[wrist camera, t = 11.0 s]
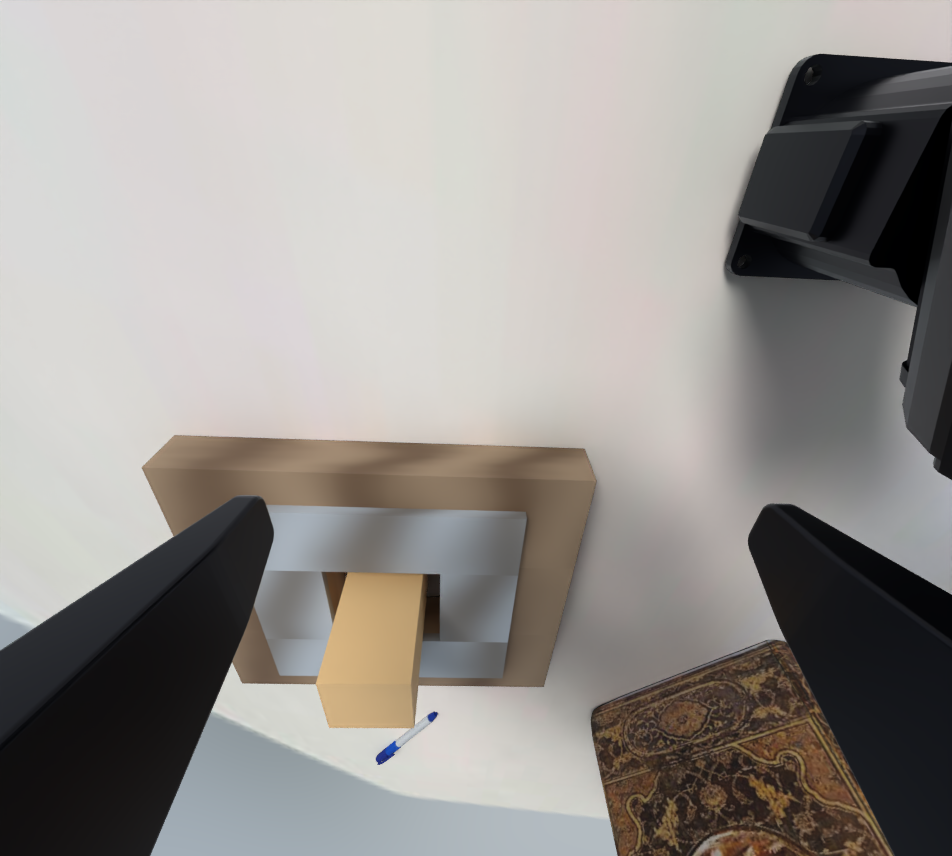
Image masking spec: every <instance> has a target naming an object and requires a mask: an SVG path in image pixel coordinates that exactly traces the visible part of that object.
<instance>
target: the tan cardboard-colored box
mask: <svg viewBox="0 0 952 856" xmlns="http://www.w3.org/2000/svg"><path fill="white" fill-rule="evenodd" d="M427 588H428V577H427V574H410V573H363V572H348V573H347V577H346V580H345V584H344V587H343V591H342V594H341V598H340V601H339V605H338V608H337V612H336V615H335V619H334V622H333V626H332V629H331V633H330V636H329V640H328V643H327V647H326V650H325V654H324V657H323V661H322V664H321V668H320V671H319V674H318V678H317V681H316V686H317V689H318V692H319V696H320V699H321V702H322V706H323V709H324V712H325V715H326V719H327V722H328V725H329V728H414V724H415V714H416V703H417V693H418V682H419V672H420V662H421V651H422V641H423V630H424V620H425V609H426V599H427Z"/></svg>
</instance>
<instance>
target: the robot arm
mask: <svg viewBox="0 0 952 856" xmlns="http://www.w3.org/2000/svg"><path fill="white" fill-rule="evenodd" d="M810 67H811V68H812V69H813V78H812V79H811V81H810V83H809V84H805V81H804V77H805V74H806V72H807V70H808V69H809V68H810ZM738 215H739V218H740V221H739V224H738V227H737V230H736V232H735V235H734V238H733V241H732V244H731V247H730V250H729V253H728V256H727V259H726V268H727V269H728V270H729V271H730V272H731V273H733V274H736V275H739V276H759V277H780V278H801V279H822V280H842V281H845V282H847V283H850V284H853V285H856V286H859V287H861V288H864V289H867V290H870V291H873V292H875V293H878V294H881V295H884V296H887V297H889V298H892V299H895V300H898V301H901V302H903V303H906V304H909V305H912V306H915V307H917V311H916V316H915V322H914V327H913V332H912V338H911V343H910V348H909V354H908V359H907V361H904V362H903V363H902V367H901V373H900V378H899V379H900V381H901V383H902V384H903V385H904V387H905V393H904V399H903V404H902V406H903V411H904V417H905V422H906V428H907V429H908V430H909V431H910V432H911V433H912V434H913V435H914V436H915V438H916V439H917V440H918V441H919V442H920V443H921V444H922V445H923V447H924V448H925V449H926V450H927V451H928V452H929V453H930V454H932V455H933V456H934V457H935V458H934V462H933V465H934V468H935V469H936V470H937V471H938V472H939V473H941V474H942V475H944V476H946V477H948V478H949V479H951V480H952V63H948V62H934V61H919V60H904V59H890V58H875V57H860V56H845V55H831V54H817V55H813V56H809V57H805V58H804V59H802V60H801V61H799V62H798V63H797V64H796V65H795V67H794V68H793V69H792V71H791V73H790V75H789V78H788V81H787V84H786V87H785V90H784V93H783V96H782V99H781V101H780V104H779V107H778V110H777V113H776V116H775V119H774V122H773V125H772V128H771V130H770V131H769V132H768V133H767V134H766V135H765V137H764V140H763V143H762V146H761V148H760V151H759V154H758V157H757V160H756V163H755V166H754V169H753V172H752V175H751V178H750V181H749V184H748V187H747V190H746V193H745V196H744V199H743V201H742V204H741V207H740V210H739V214H738ZM743 255H746V260H745V262H744V263H743V264H742V265H741V266H738V261H739V259H740V258H741V257H742V256H743ZM273 540H274V528H273V524H272V521H271V518H270V515H269V512H268V509H267V506H266V503H265V501H264V499H263V498H262V497H261V496H257V495H239V496H235V497H234V498H232V499H230V500H229V501H227V502H226V503H224V504H223V505H221V506H220V507H218V508H217V509H215V510H214V511H212V512H211V513H209V514H208V515H206V516H205V517H203V518H201V519H200V520H198V521H197V522H195V523H194V524H192V525H191V526H189V527H188V528H186V529H185V530H183V531H182V532H180V533H179V534H177V535H176V536H174V537H173V538H171V539H169V540H168V541H166V542H165V543H163V544H162V545H160V546H159V547H157V548H156V549H154V550H153V551H151V552H150V553H148V554H147V555H145V556H144V557H142V558H140V559H139V560H137V561H136V562H134V563H133V564H131V565H130V566H128V567H127V568H125V569H124V570H122V571H121V572H119V573H118V574H116V575H115V576H113V577H112V578H110V579H108V580H107V581H105V582H104V583H102V584H101V585H99V586H98V587H96V588H95V589H93V590H92V591H90V592H89V593H87V594H86V595H84V596H83V597H81V598H80V599H78V600H76V601H75V602H73V603H72V604H70V605H69V606H67V607H66V608H64V609H63V610H61V611H60V612H58V613H57V614H55V615H54V616H52V617H51V618H49V619H47V620H46V621H44V622H43V623H41V624H40V625H38V626H37V627H35V628H34V629H32V630H31V631H29V632H28V633H26V634H25V635H23V636H22V637H20V638H18V639H17V640H15V641H14V642H12V643H11V644H9V645H8V646H6V647H5V648H3V649H2V650H0V856H150V855H151V853H152V850H153V848H154V845H155V843H156V841H157V838H158V836H159V833H160V831H161V829H162V826H163V824H164V822H165V819H166V817H167V815H168V812H169V810H170V808H171V805H172V803H173V800H174V798H175V796H176V793H177V791H178V789H179V786H180V784H181V781H182V779H183V777H184V774H185V772H186V770H187V767H188V765H189V763H190V760H191V758H192V756H193V753H194V751H195V748H196V746H197V744H198V741H199V739H200V737H201V734H202V732H203V729H204V727H205V725H206V722H207V720H208V718H209V715H210V713H211V711H212V708H213V706H214V703H215V701H216V699H217V696H218V694H219V692H220V689H221V687H222V685H223V682H224V680H225V677H226V675H227V673H228V670H229V668H230V666H231V663H232V661H233V658H234V656H235V654H236V651H237V649H238V647H239V644H240V642H241V640H242V637H243V635H244V632H245V630H246V627H247V625H248V622H249V619H250V616H251V613H252V610H253V607H254V603H255V600H256V597H257V594H258V590H259V587H260V584H261V580H262V577H263V574H264V570H265V567H266V564H267V560H268V557H269V554H270V550H271V547H272V544H273ZM748 545H749V550H750V552H751V555H752V557H753V560H754V563H755V565H756V568H757V570H758V573H759V576H760V578H761V581H762V583H763V586H764V589H765V591H766V594H767V596H768V599H769V602H770V604H771V607H772V609H773V612H774V615H775V617H776V619H777V622H778V624H779V627H780V629H781V631H782V633H783V635H784V637H785V639H786V642H787V644H788V646H789V648H790V650H791V652H792V654H793V656H794V658H795V659H796V661H797V663H798V665H799V667H800V669H801V671H802V673H803V675H804V677H805V679H806V681H807V683H808V685H809V687H810V689H811V691H812V693H813V695H814V697H815V699H816V701H817V703H818V705H819V707H820V709H821V711H822V713H823V715H824V717H825V719H826V721H827V723H828V725H829V727H830V729H831V731H832V733H833V735H834V737H835V739H836V741H837V743H838V745H839V747H840V749H841V751H842V753H843V755H844V757H845V759H846V761H847V763H848V765H849V767H850V769H851V771H852V773H853V775H854V777H855V779H856V781H857V783H858V785H859V787H860V789H861V791H862V793H863V795H864V797H865V799H866V801H867V803H868V805H869V807H870V809H871V811H872V813H873V815H874V817H875V819H876V821H877V823H878V825H879V827H880V829H881V831H882V833H883V834H884V836H885V838H886V840H887V842H888V844H889V846H890V848H891V850H892V852H893V854H894V856H952V595H951V594H949V593H948V592H946V591H944V590H942V589H941V588H939V587H937V586H935V585H934V584H932V583H930V582H928V581H927V580H925V579H923V578H921V577H920V576H918V575H916V574H914V573H913V572H911V571H909V570H907V569H906V568H904V567H902V566H900V565H899V564H897V563H895V562H893V561H892V560H890V559H888V558H886V557H884V556H883V555H881V554H879V553H877V552H876V551H874V550H872V549H870V548H869V547H867V546H865V545H863V544H862V543H860V542H858V541H856V540H855V539H853V538H851V537H849V536H848V535H846V534H844V533H842V532H841V531H839V530H837V529H835V528H834V527H832V526H830V525H828V524H827V523H825V522H823V521H821V520H819V519H818V518H816V517H814V516H812V515H811V514H809V513H807V512H805V511H804V510H802V509H800V508H798V507H797V506H795V505H792V504H767V505H766V506H765V507H763V509H762V510H761V512H760V514H759V516H758V518H757V520H756V522H755V524H754V526H753V528H752V530H751V532H750V534H749V537H748Z"/></svg>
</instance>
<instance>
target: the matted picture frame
mask: <svg viewBox="0 0 952 856" xmlns="http://www.w3.org/2000/svg"><path fill="white" fill-rule="evenodd" d="M142 469H143V471H144V474H145V476H146V478H147V480H148V482H149V484H150V486H151V489H152V491H153V493H154V495H155V497H156V499H157V501H158V504H159V506H160V508H161V510H162V512H163V514H164V517H165V519H166V521H167V523H168V525H169V527H170V529H171V532H172V534H173V536H176V535H177V534H179V533H180V532H182V531H183V530H185V529H186V528H188V527H189V526H191V525H192V524H194V523H195V522H197V521H198V520H200V519H201V518H203V517H205V516H206V515H208V514H209V513H211V512H212V511H214V510H215V509H217V508H218V507H220V506H221V505H223V504H224V503H226V502H227V501H229V500H230V499H232V498H234V497H235V496H239V495H257V496H261V497H262V498H263V499H264V501H265V503H266V506H267V509H268V512H269V515H270V518H271V521H272V524H273V528H274V540H273V544H272V547H271V550H270V554H269V557H268V560H267V564H266V567H265V570H264V574H263V577H262V580H261V584H260V587H259V590H258V594H257V597H256V600H255V603H254V607H253V610H252V613H251V616H250V619H249V622H248V625H247V627H246V630H245V632H244V635H243V637H242V640H241V642H240V644H239V647H238V649H237V651H236V654H235V656H234V658H233V661H232V662H233V665H234V667H235V669H236V671H237V673H238V675H239V677H240V680H241V682H242V683H257V684H316V681H317V678H318V674H319V671H320V668H321V664H322V661H323V657H324V654H325V650H326V647H327V643H328V640H329V636H330V633H331V629H332V626H333V622H334V619H335V615H336V612H337V608H338V605H339V601H340V598H341V594H342V591H343V587H344V584H345V580H346V579H345V573H344V572H363V573H410V574H440V597H427V599H426V609H425V620H424V630H423V641H422V651H421V662H420V672H419V682H418V685H425V686H509V687H544V684H545V680H546V676H547V672H548V668H549V664H550V660H551V656H552V652H553V649H554V645H555V641H556V637H557V633H558V629H559V625H560V621H561V617H562V614H563V610H564V606H565V602H566V598H567V594H568V590H569V586H570V583H571V579H572V575H573V571H574V567H575V563H576V559H577V555H578V551H579V548H580V544H581V540H582V536H583V532H584V528H585V524H586V520H587V517H588V513H589V509H590V505H591V501H592V497H593V493H594V489H595V485H596V482H597V481H596V478H595V475H594V473H593V470H592V468H591V465H590V462H589V460H588V457H587V454H586V452H585V449H576V448H545V447H515V446H484V445H453V444H423V443H392V442H361V441H330V440H300V439H269V438H238V437H207V436H177V435H174V436H173V437H172V438H171V439H170V440H169V441H168V442H167V443H166V444H165V445H164V446H163V447H162V448H161V449H160V450H159V451H158V452H157V453H156V454H155V455H154V456H153V457H152V458H151V459H150V460H149V461H148V462H147V463H146V464H145V465H144V466H143V467H142Z"/></svg>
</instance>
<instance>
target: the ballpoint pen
mask: <svg viewBox="0 0 952 856" xmlns="http://www.w3.org/2000/svg"><path fill="white" fill-rule="evenodd" d="M436 716H437V712H433V713H431V714H429V715H427V716H426V717H425V718H424V719H422V720H421V721H420V722H419V723H418V724H416V725H415V726H414V728H411V729H410V730H409V731H408V732H406V733H405V734H404V735H403V736H401V737H400V738H399V739H398V740H396V741H394V742H393V743H392V744H390V745H389V746H388V747H387V748H385V749H384V750H383V751H382V752H380V753H379V754H378V755H377V757H376V761H377V762H378V765H380V764H382V763H384V762H386V761H387V760H388V759H390V758H391V757H392V756H394V755H395V754H393V753H394V752H395V751H397V750H398V749H399V748H400V747H401V746H402V745H403V744H405V743H406V742H407V741H408V740H410V739H411V738H412V737H413V736H415V735H416V734H417V733H419V732H420V731H421V730H422V729H424V728H425V727H426V726H427V725H429V724H430V723H431V722H433V720H434V719H435V718H436ZM383 760H384V761H383ZM381 761H382V762H381Z"/></svg>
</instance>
